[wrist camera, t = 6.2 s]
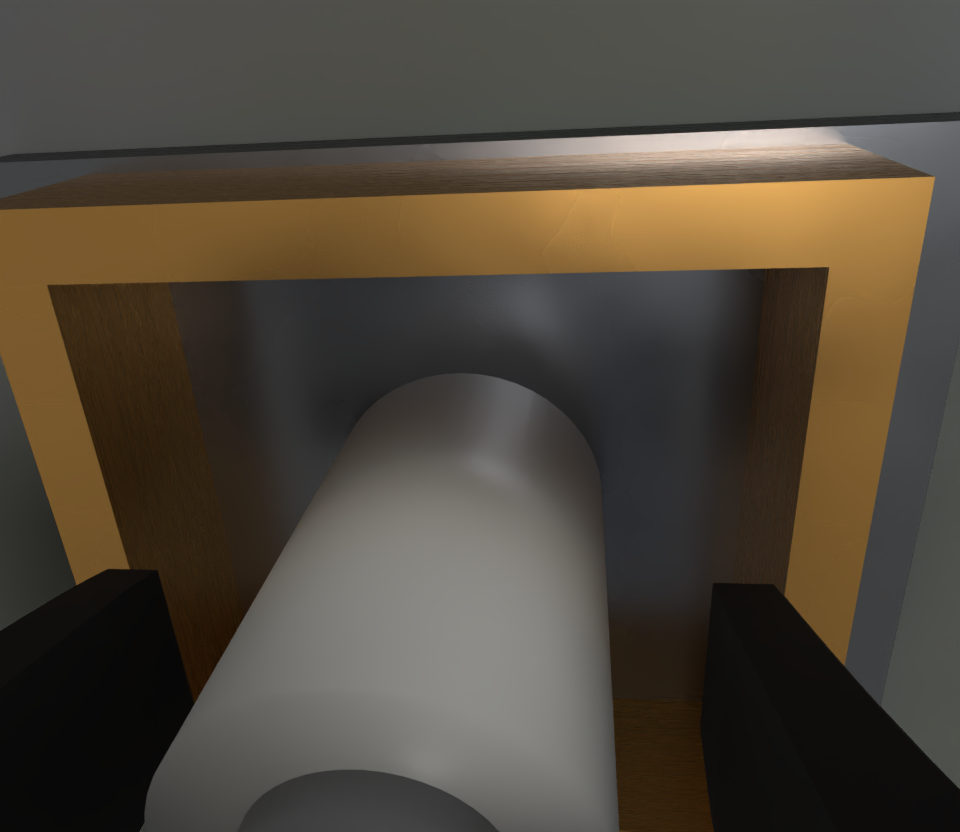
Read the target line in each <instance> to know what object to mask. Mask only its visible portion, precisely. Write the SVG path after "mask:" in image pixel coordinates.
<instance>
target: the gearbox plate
mask: <svg viewBox="0 0 960 832" xmlns="http://www.w3.org/2000/svg"><path fill="white" fill-rule="evenodd" d="M959 340H960V112H953V113H931V114H908V115H886V116H863V117H841V118H819V119H796V120H774V121H751V122H729V123H706V124H684V125H661V126H639V127H617V128H594V129H572V130H549V131H527V132H504V133H482V134H460V135H437V136H415V137H392V138H370V139H347V140H325V141H303V142H280V143H258V144H235V145H213V146H190V147H168V148H146V149H123V150H101V151H78V152H56V153H33V154H12V155H7V156H2V157H0V354H1V357H2V360H3V363H4V366H5V369H6V373H7V376H8V379H9V382H10V385H11V388H12V391H13V394H14V397H15V400H16V403H17V406H18V409H19V412H20V415H21V418H22V421H23V424H24V427H25V430H26V433H27V436H28V439H29V442H30V445H31V448H32V451H33V454H34V457H35V460H36V463H37V466H38V470H39V473H40V476H41V479H42V482H43V485H44V488H45V491H46V494H47V497H48V500H49V503H50V506H51V509H52V512H53V515H54V518H55V521H56V524H57V527H58V530H59V533H60V536H61V539H62V542H63V545H64V548H65V551H66V554H67V557H68V560H69V563H70V567H71V570H72V573H73V576H74V579H75V582H76V585H78V584H80V583H82V582H83V581H85V580H87V579H89V578H91V577H93V576H95V575H97V574H99V573H101V572H102V571H104V570H106V569H140V570H158V574H159V577H160V581H161V585H162V588H163V592H164V596H165V599H166V603H167V606H168V610H169V614H170V617H171V621H172V625H173V628H174V632H175V636H176V639H177V643H178V647H179V650H180V654H181V658H182V661H183V665H184V669H185V672H186V676H187V679H188V683H189V687H190V690H191V694H192V698H193V701H194V704H195V702H196V701H197V699H198V697H199V695H200V694H201V692H202V690H203V688H204V687H205V685H206V683H207V681H208V680H209V678H210V676H211V675H212V673H213V671H214V669H215V668H216V666H217V664H218V662H219V661H220V659H221V657H222V655H223V654H224V652H225V650H226V648H227V647H228V645H229V643H230V641H231V640H232V638H233V636H234V634H235V633H236V631H237V629H238V627H239V626H240V624H241V622H242V621H243V619H244V617H245V615H246V614H247V612H248V610H249V608H250V607H251V605H252V603H253V601H254V600H255V598H256V596H257V594H258V593H259V591H260V589H261V587H262V586H263V584H264V582H265V580H266V579H267V577H268V575H269V574H270V572H271V570H272V568H273V567H274V565H275V563H276V561H277V560H278V558H279V556H280V554H281V553H282V551H283V549H284V547H285V546H286V544H287V542H288V540H289V539H290V537H291V535H292V533H293V532H294V530H295V528H296V526H297V525H298V523H299V521H300V520H301V518H302V516H303V514H304V513H305V511H306V509H307V507H308V506H309V504H310V502H311V500H312V499H313V497H314V495H315V493H316V492H317V490H318V488H319V486H320V485H321V483H322V481H323V479H324V478H325V476H326V474H327V472H328V471H329V469H330V467H331V466H332V464H333V462H334V460H335V459H336V457H337V455H338V453H339V452H340V450H341V448H342V446H343V445H344V443H345V441H346V439H347V438H348V436H349V434H350V433H351V431H352V429H353V428H354V426H355V424H356V423H357V421H358V420H359V419H360V418H361V417H362V415H363V414H364V413H365V412H366V410H368V409H369V408H370V407H371V406H372V405H373V404H374V403H375V402H376V401H378V400H379V399H380V398H382V397H383V396H385V395H386V394H388V393H389V392H391V391H392V390H394V389H396V388H398V387H401V386H403V385H405V384H407V383H409V382H412V381H415V380H418V379H421V378H425V377H430V376H435V375H440V374H453V373H469V374H481V375H487V376H492V377H497V378H501V379H504V380H507V381H510V382H514V383H516V384H519V385H521V386H523V387H525V388H528V389H530V390H532V391H534V392H535V393H537V394H539V395H540V396H542V397H544V398H545V399H547V400H548V401H550V402H551V403H552V404H553V405H555V406H556V407H557V408H559V409H560V410H561V411H562V412H563V413H564V414H565V415H566V416H567V417H568V418H569V419H570V420H571V421H572V422H573V423H574V424H575V426H576V427H577V428H578V430H579V431H580V432H581V434H582V435H583V436H584V438H585V439H586V441H587V443H588V445H589V447H590V449H591V450H592V452H593V455H594V458H595V460H596V463H597V466H598V469H599V474H600V479H601V486H602V504H603V524H604V543H605V562H606V582H607V601H608V620H609V640H610V659H611V679H612V698H613V717H614V737H615V756H616V775H617V795H618V814H619V832H714V830H713V825H712V819H711V811H710V804H709V796H708V789H707V781H706V773H705V765H704V757H703V749H702V740H701V732H700V722H701V711H702V699H703V688H704V677H705V665H706V654H707V643H708V632H709V620H710V609H711V598H712V586H713V583H742V584H774V585H775V586H776V587H777V588H778V589H779V591H780V592H781V593H782V594H783V595H784V596H785V597H786V598H787V599H788V601H789V602H790V603H791V604H792V605H793V606H794V608H795V609H796V610H797V611H798V612H799V614H800V615H801V616H802V617H803V618H804V620H805V621H806V622H807V623H808V624H809V625H810V627H811V628H812V629H813V630H814V631H815V633H816V634H817V635H818V636H819V637H820V638H821V640H822V641H823V642H824V643H825V644H826V645H827V647H828V648H829V649H830V650H831V651H832V652H833V653H834V655H835V656H836V657H837V658H838V659H839V660H840V661H841V663H842V664H843V665H844V666H845V667H846V668H847V669H848V671H849V672H850V673H851V674H852V675H853V676H854V677H855V679H856V680H857V681H858V682H859V683H860V684H861V685H862V686H863V688H864V689H865V690H866V691H867V692H868V693H869V694H870V695H871V696H872V698H873V699H874V700H875V701H876V702H877V703H878V704H879V705H881V701H882V696H883V691H884V687H885V682H886V677H887V673H888V668H889V664H890V659H891V654H892V650H893V645H894V640H895V636H896V631H897V627H898V622H899V617H900V613H901V608H902V603H903V599H904V594H905V590H906V585H907V580H908V576H909V571H910V566H911V562H912V557H913V553H914V548H915V543H916V539H917V534H918V529H919V525H920V520H921V516H922V511H923V506H924V502H925V497H926V492H927V488H928V483H929V479H930V474H931V469H932V465H933V460H934V455H935V451H936V446H937V442H938V437H939V432H940V428H941V423H942V418H943V414H944V409H945V405H946V400H947V395H948V391H949V386H950V381H951V377H952V372H953V368H954V363H955V358H956V354H957V349H958V344H959Z"/></svg>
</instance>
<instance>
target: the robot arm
mask: <svg viewBox="0 0 960 832" xmlns="http://www.w3.org/2000/svg"><path fill="white" fill-rule="evenodd" d="M193 706H194V701H193V698H192V694H191V690H190V687H189V683H188V679H187V676H186V672H185V669H184V665H183V661H182V658H181V654H180V650H179V647H178V643H177V639H176V636H175V632H174V628H173V625H172V621H171V617H170V614H169V610H168V606H167V603H166V599H165V596H164V592H163V588H162V585H161V581H160V577H159V574H158V570H140V569H106V570H104V571H102V572H101V573H99V574H97V575H95V576H93V577H91V578H89V579H87V580H85V581H83V582H82V583H80V584H78V585H76V586H74V587H73V588H71V589H69V590H68V591H66V592H64V593H62V594H61V595H59V596H57V597H56V598H54V599H52V600H51V601H49V602H47V603H46V604H44V605H42V606H41V607H39V608H37V609H36V610H34V611H32V612H31V613H29V614H27V615H26V616H24V617H23V618H21V619H19V620H18V621H16V622H14V623H13V624H11V625H9V626H8V627H6V628H5V629H3V630H1V631H0V832H139V831H140V829H141V827H142V826H143V824H144V822H145V818H144V813H145V805H146V798H147V793H148V790H149V787H150V784H151V782H152V779H153V776H154V774H155V772H156V770H157V769H158V767H159V765H160V763H161V762H162V760H163V758H164V756H165V755H166V753H167V751H168V749H169V748H170V746H171V744H172V742H173V741H174V739H175V737H176V735H177V734H178V732H179V730H180V728H181V727H182V725H183V723H184V722H185V720H186V718H187V716H188V715H189V713H190V711H191V709H192V708H193ZM700 732H701V740H702V749H703V757H704V765H705V773H706V781H707V789H708V796H709V804H710V811H711V819H712V825H713V830H714V832H960V789H959V788H958V787H957V786H956V785H955V784H954V783H953V782H952V781H951V780H950V779H949V778H948V777H947V776H946V775H945V774H944V773H943V772H942V771H941V770H940V769H939V768H938V767H937V766H936V765H935V764H934V763H933V762H932V761H931V760H930V759H929V757H928V756H927V755H926V754H925V753H924V752H923V751H922V750H921V749H920V748H919V747H918V746H917V745H916V744H915V743H914V741H913V740H912V739H911V738H910V737H909V736H908V735H907V734H906V733H905V732H904V731H903V730H902V729H901V728H900V727H899V726H898V724H897V723H896V722H895V721H894V720H893V719H892V718H891V717H890V716H889V715H888V714H887V713H886V712H885V711H884V710H883V708H882V707H881V706H880V705H879V704H878V703H877V702H876V701H875V700H874V699H873V698H872V696H871V695H870V694H869V693H868V692H867V691H866V690H865V689H864V688H863V686H862V685H861V684H860V683H859V682H858V681H857V680H856V679H855V677H854V676H853V675H852V674H851V673H850V672H849V671H848V669H847V668H846V667H845V666H844V665H843V664H842V663H841V661H840V660H839V659H838V658H837V657H836V656H835V655H834V653H833V652H832V651H831V650H830V649H829V648H828V647H827V645H826V644H825V643H824V642H823V641H822V640H821V638H820V637H819V636H818V635H817V634H816V633H815V631H814V630H813V629H812V628H811V627H810V625H809V624H808V623H807V622H806V621H805V620H804V618H803V617H802V616H801V615H800V614H799V612H798V611H797V610H796V609H795V608H794V606H793V605H792V604H791V603H790V602H789V601H788V599H787V598H786V597H785V596H784V595H783V594H782V593H781V592H780V591H779V589H778V588H777V587H776V586H775V585H774V584H742V583H713V586H712V598H711V609H710V620H709V632H708V643H707V654H706V665H705V677H704V688H703V699H702V711H701V722H700Z"/></svg>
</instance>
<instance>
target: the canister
mask: <svg viewBox="0 0 960 832" xmlns="http://www.w3.org/2000/svg"><path fill="white" fill-rule="evenodd" d="M144 818H145V832H619V814H618V795H617V775H616V756H615V737H614V717H613V698H612V679H611V659H610V640H609V620H608V601H607V582H606V562H605V543H604V524H603V504H602V486H601V479H600V474H599V469H598V466H597V463H596V460H595V458H594V455H593V452H592V450H591V449H590V447H589V445H588V443H587V441H586V439H585V438H584V436H583V435H582V434H581V432H580V431H579V430H578V428H577V427H576V426H575V424H574V423H573V422H572V421H571V420H570V419H569V418H568V417H567V416H566V415H565V414H564V413H563V412H562V411H561V410H560V409H559V408H557V407H556V406H555V405H553V404H552V403H551V402H550V401H548V400H547V399H545V398H544V397H542V396H540V395H539V394H537V393H535V392H534V391H532V390H530V389H528V388H525V387H523V386H521V385H519V384H516V383H514V382H510V381H507V380H504V379H501V378H497V377H492V376H487V375H481V374H469V373H453V374H440V375H435V376H430V377H425V378H421V379H418V380H415V381H412V382H409V383H407V384H405V385H403V386H401V387H398V388H396V389H394V390H392V391H391V392H389V393H388V394H386V395H385V396H383V397H382V398H380V399H379V400H378V401H376V402H375V403H374V404H373V405H372V406H371V407H370V408H369V409H368V410H366V412H365V413H364V414H363V415H362V417H361V418H360V419H359V420H358V421H357V423H356V424H355V426H354V428H353V429H352V431H351V433H350V434H349V436H348V438H347V439H346V441H345V443H344V445H343V446H342V448H341V450H340V452H339V453H338V455H337V457H336V459H335V460H334V462H333V464H332V466H331V467H330V469H329V471H328V472H327V474H326V476H325V478H324V479H323V481H322V483H321V485H320V486H319V488H318V490H317V492H316V493H315V495H314V497H313V499H312V500H311V502H310V504H309V506H308V507H307V509H306V511H305V513H304V514H303V516H302V518H301V520H300V521H299V523H298V525H297V526H296V528H295V530H294V532H293V533H292V535H291V537H290V539H289V540H288V542H287V544H286V546H285V547H284V549H283V551H282V553H281V554H280V556H279V558H278V560H277V561H276V563H275V565H274V567H273V568H272V570H271V572H270V574H269V575H268V577H267V579H266V580H265V582H264V584H263V586H262V587H261V589H260V591H259V593H258V594H257V596H256V598H255V600H254V601H253V603H252V605H251V607H250V608H249V610H248V612H247V614H246V615H245V617H244V619H243V621H242V622H241V624H240V626H239V627H238V629H237V631H236V633H235V634H234V636H233V638H232V640H231V641H230V643H229V645H228V647H227V648H226V650H225V652H224V654H223V655H222V657H221V659H220V661H219V662H218V664H217V666H216V668H215V669H214V671H213V673H212V675H211V676H210V678H209V680H208V681H207V683H206V685H205V687H204V688H203V690H202V692H201V694H200V695H199V697H198V699H197V701H196V702H195V704H194V706H193V708H192V709H191V711H190V713H189V715H188V716H187V718H186V720H185V722H184V723H183V725H182V727H181V728H180V730H179V732H178V734H177V735H176V737H175V739H174V741H173V742H172V744H171V746H170V748H169V749H168V751H167V753H166V755H165V756H164V758H163V760H162V762H161V763H160V765H159V767H158V769H157V770H156V772H155V774H154V776H153V779H152V782H151V784H150V787H149V790H148V793H147V798H146V805H145V813H144Z"/></svg>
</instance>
